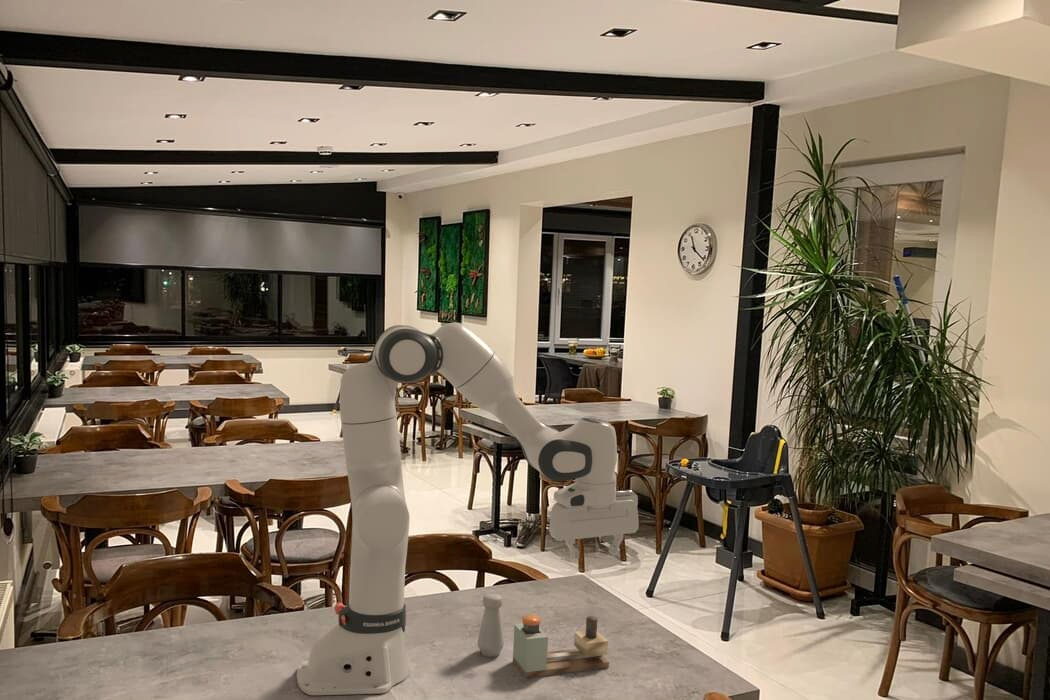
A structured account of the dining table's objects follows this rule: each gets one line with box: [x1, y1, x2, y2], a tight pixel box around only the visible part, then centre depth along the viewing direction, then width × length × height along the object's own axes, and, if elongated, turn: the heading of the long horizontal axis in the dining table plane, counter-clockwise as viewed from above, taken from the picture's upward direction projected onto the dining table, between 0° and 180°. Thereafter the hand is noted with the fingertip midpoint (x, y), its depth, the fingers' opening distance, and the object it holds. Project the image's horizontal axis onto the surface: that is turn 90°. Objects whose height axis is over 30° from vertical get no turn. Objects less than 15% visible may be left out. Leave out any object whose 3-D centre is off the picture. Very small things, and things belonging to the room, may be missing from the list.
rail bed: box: [512, 648, 610, 679], centre depth 176 cm, size 19×8×2 cm, turn 110°
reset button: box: [522, 614, 541, 634], centre depth 173 cm, size 4×4×5 cm
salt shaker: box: [477, 593, 505, 658], centre depth 179 cm, size 6×6×13 cm
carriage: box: [573, 615, 609, 657], centre depth 178 cm, size 5×6×7 cm
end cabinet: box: [512, 622, 549, 672], centre depth 173 cm, size 5×8×7 cm, turn 20°
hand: (594, 556), depth 177 cm, fingers open, 8 cm apart
